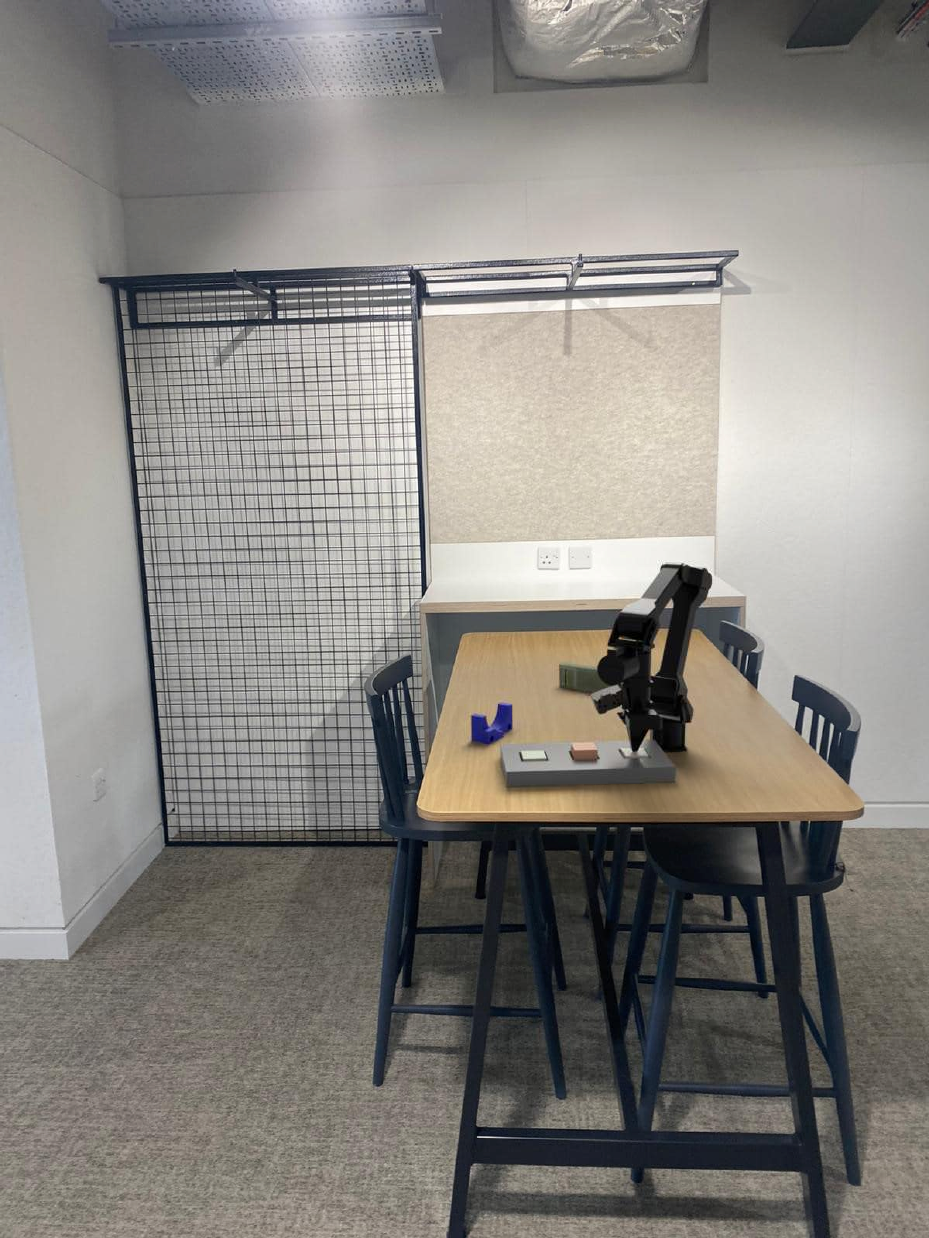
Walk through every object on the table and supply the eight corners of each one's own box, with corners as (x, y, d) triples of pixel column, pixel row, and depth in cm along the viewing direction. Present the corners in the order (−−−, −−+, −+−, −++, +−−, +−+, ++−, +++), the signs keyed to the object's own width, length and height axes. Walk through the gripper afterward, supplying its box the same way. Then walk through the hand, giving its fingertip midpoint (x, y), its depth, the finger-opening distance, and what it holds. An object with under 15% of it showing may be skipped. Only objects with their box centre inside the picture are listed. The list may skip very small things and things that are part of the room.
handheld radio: (563, 685, 235) (649, 698, 221) (557, 688, 233) (644, 701, 218) (563, 661, 234) (650, 673, 219) (557, 664, 231) (644, 676, 217)
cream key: (642, 757, 173) (643, 747, 173) (648, 765, 169) (648, 755, 168) (620, 757, 173) (620, 748, 173) (625, 765, 168) (625, 755, 168)
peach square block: (593, 751, 173) (593, 742, 172) (597, 759, 168) (597, 749, 168) (571, 752, 172) (571, 742, 172) (574, 760, 168) (574, 750, 168)
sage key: (543, 759, 172) (543, 750, 172) (546, 767, 168) (546, 758, 168) (521, 760, 172) (521, 751, 172) (523, 768, 168) (523, 758, 168)
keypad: (654, 753, 179) (654, 739, 178) (675, 781, 163) (675, 766, 163) (500, 757, 178) (500, 744, 178) (506, 786, 162) (506, 771, 162)
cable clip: (488, 745, 187) (488, 718, 186) (471, 741, 190) (471, 715, 189) (518, 730, 197) (517, 705, 195) (501, 727, 199) (501, 702, 198)
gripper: (586, 664, 176) (585, 737, 179) (603, 688, 158) (602, 768, 161) (640, 662, 177) (639, 735, 180) (664, 686, 158) (662, 767, 161)
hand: (634, 751), depth 170 cm, fingers closed
